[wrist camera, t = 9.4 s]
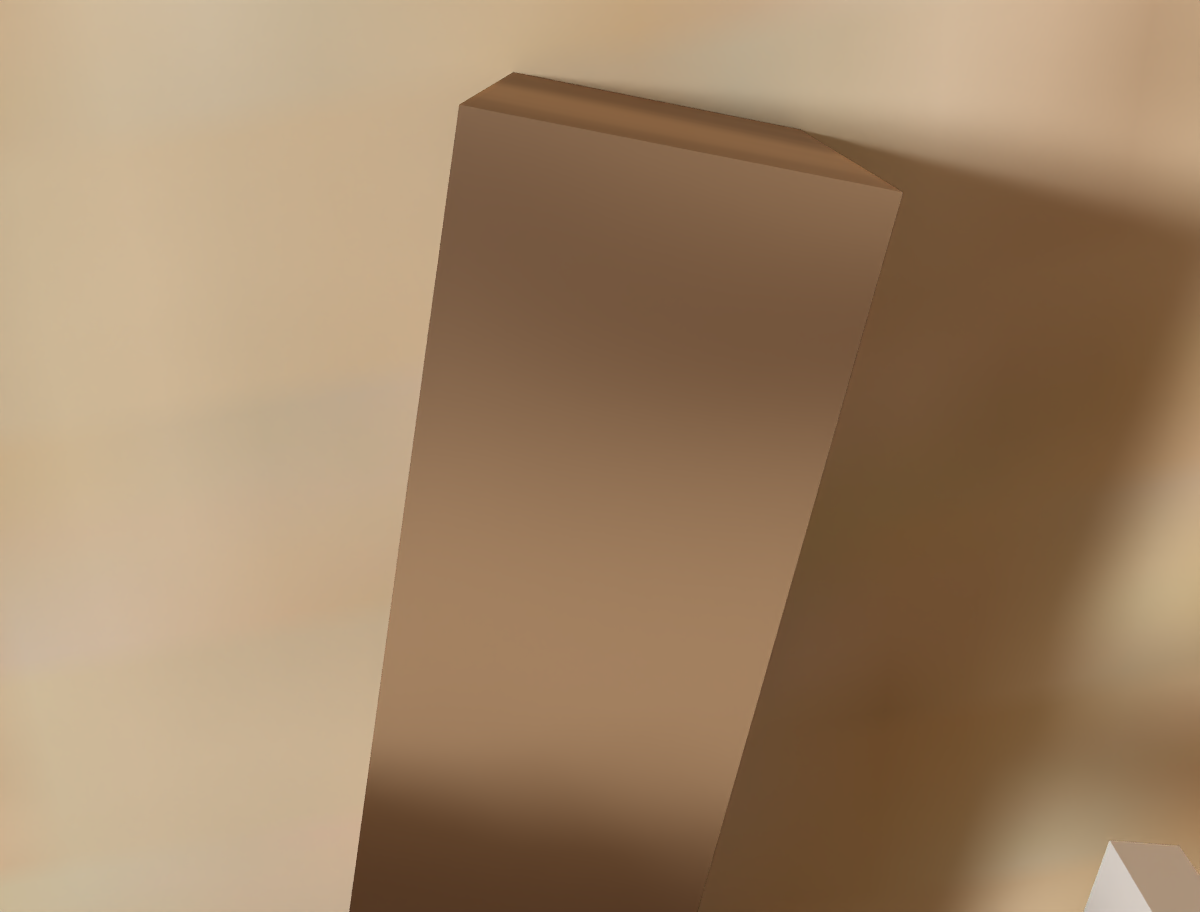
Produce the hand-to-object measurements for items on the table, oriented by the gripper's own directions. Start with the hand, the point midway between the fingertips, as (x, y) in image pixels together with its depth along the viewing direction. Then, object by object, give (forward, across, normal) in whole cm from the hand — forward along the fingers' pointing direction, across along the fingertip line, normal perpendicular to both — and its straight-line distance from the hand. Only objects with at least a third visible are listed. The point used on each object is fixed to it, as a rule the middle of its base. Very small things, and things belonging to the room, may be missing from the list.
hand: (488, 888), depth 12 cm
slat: (+7, 0, -1) cm, 7 cm away
